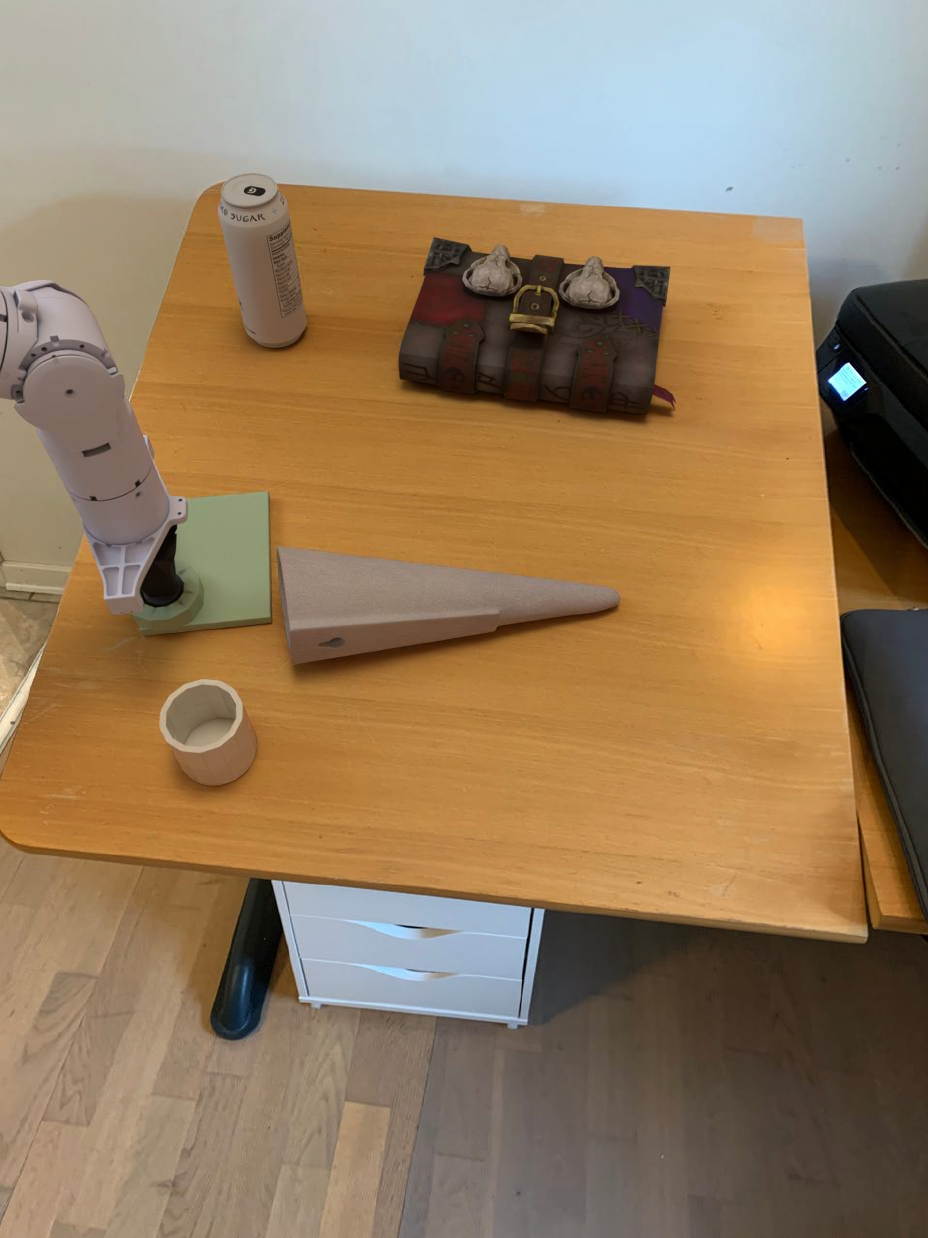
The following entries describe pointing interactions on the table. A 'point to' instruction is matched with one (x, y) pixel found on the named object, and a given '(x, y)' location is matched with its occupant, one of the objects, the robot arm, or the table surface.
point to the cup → (208, 731)
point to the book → (537, 328)
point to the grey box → (409, 602)
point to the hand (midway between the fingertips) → (162, 588)
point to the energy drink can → (262, 259)
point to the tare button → (165, 597)
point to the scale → (218, 567)
